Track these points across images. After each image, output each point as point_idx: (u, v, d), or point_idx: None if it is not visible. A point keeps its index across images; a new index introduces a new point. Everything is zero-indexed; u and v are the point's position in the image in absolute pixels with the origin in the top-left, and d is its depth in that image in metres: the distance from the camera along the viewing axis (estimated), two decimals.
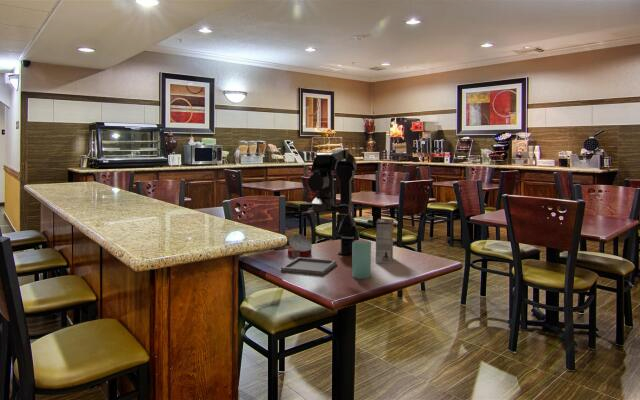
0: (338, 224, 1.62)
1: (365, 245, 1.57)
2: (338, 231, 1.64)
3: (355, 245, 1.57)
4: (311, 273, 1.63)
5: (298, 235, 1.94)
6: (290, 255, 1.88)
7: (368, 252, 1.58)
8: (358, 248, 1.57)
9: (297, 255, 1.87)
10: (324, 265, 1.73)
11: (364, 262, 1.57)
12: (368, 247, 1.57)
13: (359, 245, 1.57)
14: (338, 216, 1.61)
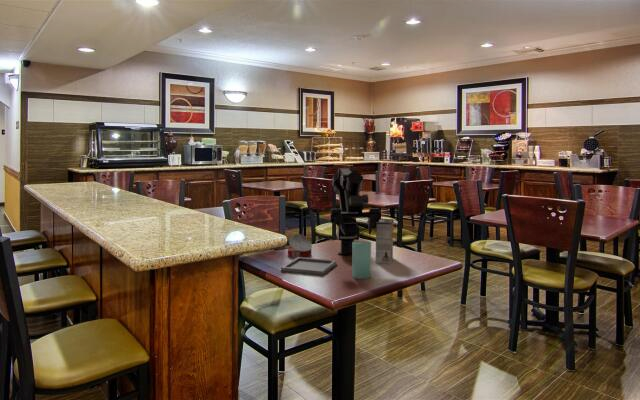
0: (371, 225, 1.69)
1: (365, 245, 1.57)
2: (370, 232, 1.68)
3: (355, 245, 1.57)
4: (311, 273, 1.63)
5: (298, 235, 1.94)
6: (290, 255, 1.88)
7: (368, 252, 1.58)
8: (358, 248, 1.57)
9: (297, 255, 1.87)
10: (324, 265, 1.73)
11: (364, 262, 1.57)
12: (368, 247, 1.57)
13: (359, 245, 1.57)
14: (371, 216, 1.69)
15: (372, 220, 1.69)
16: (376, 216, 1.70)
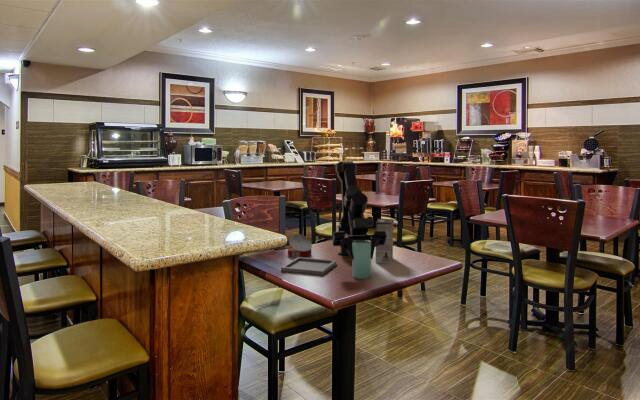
0: (372, 249, 1.60)
1: (365, 245, 1.57)
2: (372, 257, 1.59)
3: (355, 245, 1.57)
4: (311, 273, 1.63)
5: (298, 235, 1.94)
6: (290, 255, 1.88)
7: (368, 252, 1.58)
8: (358, 248, 1.57)
9: (297, 255, 1.87)
10: (324, 265, 1.73)
11: (364, 262, 1.57)
12: (368, 247, 1.57)
13: (359, 245, 1.57)
14: (373, 239, 1.61)
15: (374, 243, 1.61)
16: (378, 239, 1.62)
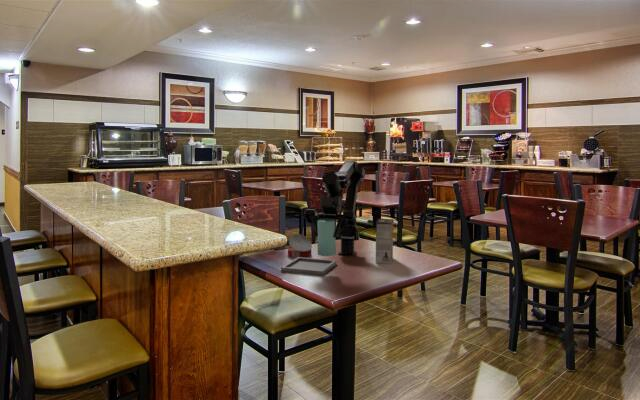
0: (337, 228, 1.63)
1: (325, 223, 1.61)
2: (335, 236, 1.62)
3: (318, 223, 1.63)
4: (311, 273, 1.63)
5: (298, 235, 1.94)
6: (290, 255, 1.88)
7: (329, 230, 1.61)
8: (319, 226, 1.62)
9: (297, 255, 1.87)
10: (324, 265, 1.73)
11: (324, 240, 1.61)
12: (329, 225, 1.61)
13: (320, 223, 1.61)
14: (339, 218, 1.64)
15: (339, 223, 1.64)
16: (344, 219, 1.64)
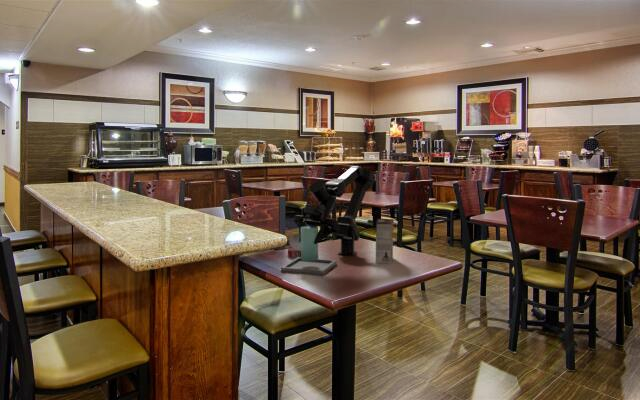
0: (318, 234, 1.68)
1: (306, 229, 1.67)
2: (315, 242, 1.68)
3: None
4: (311, 273, 1.63)
5: (298, 235, 1.94)
6: (290, 255, 1.88)
7: (309, 237, 1.67)
8: (301, 231, 1.69)
9: (297, 255, 1.87)
10: (324, 265, 1.73)
11: (305, 245, 1.68)
12: (309, 232, 1.67)
13: (301, 229, 1.68)
14: (321, 226, 1.69)
15: (321, 230, 1.68)
16: (326, 227, 1.68)
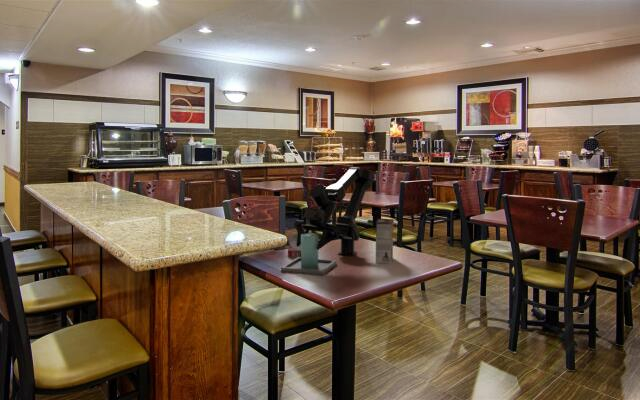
0: (321, 240, 1.68)
1: (306, 237, 1.67)
2: (318, 248, 1.67)
3: (301, 236, 1.70)
4: (311, 273, 1.63)
5: None
6: (290, 255, 1.88)
7: (309, 244, 1.68)
8: (301, 239, 1.69)
9: (297, 255, 1.87)
10: (324, 265, 1.73)
11: (305, 252, 1.68)
12: (309, 239, 1.67)
13: (302, 236, 1.69)
14: (323, 231, 1.68)
15: (324, 236, 1.68)
16: (329, 232, 1.67)
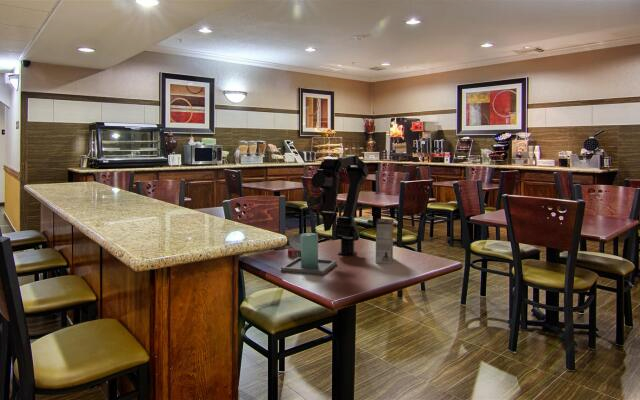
0: (323, 222, 1.71)
1: (306, 237, 1.68)
2: (325, 229, 1.71)
3: None
4: (311, 273, 1.63)
5: (298, 235, 1.94)
6: (290, 255, 1.88)
7: (309, 244, 1.68)
8: (301, 239, 1.69)
9: (297, 255, 1.87)
10: (324, 265, 1.73)
11: (305, 252, 1.68)
12: (309, 239, 1.67)
13: (301, 236, 1.69)
14: None
15: None
16: (321, 213, 1.69)
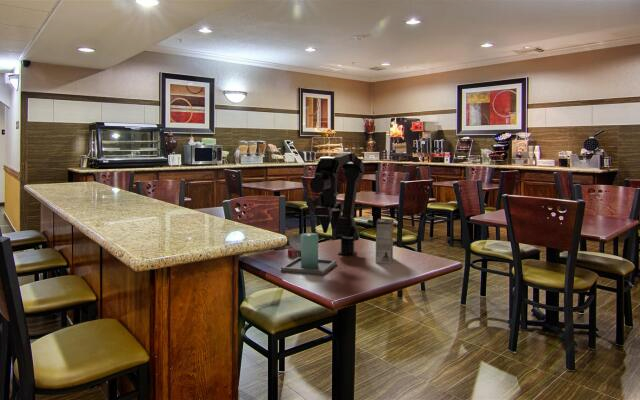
0: None
1: (306, 237, 1.68)
2: (324, 231, 1.71)
3: (301, 236, 1.70)
4: (311, 273, 1.63)
5: (298, 235, 1.94)
6: (290, 255, 1.88)
7: (309, 244, 1.68)
8: (301, 239, 1.69)
9: (297, 255, 1.87)
10: (324, 265, 1.73)
11: (305, 252, 1.68)
12: (309, 239, 1.68)
13: (302, 236, 1.69)
14: None
15: None
16: (317, 216, 1.69)
